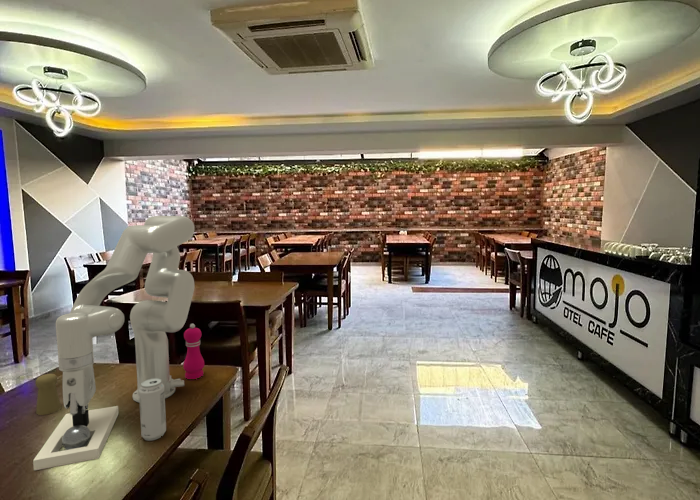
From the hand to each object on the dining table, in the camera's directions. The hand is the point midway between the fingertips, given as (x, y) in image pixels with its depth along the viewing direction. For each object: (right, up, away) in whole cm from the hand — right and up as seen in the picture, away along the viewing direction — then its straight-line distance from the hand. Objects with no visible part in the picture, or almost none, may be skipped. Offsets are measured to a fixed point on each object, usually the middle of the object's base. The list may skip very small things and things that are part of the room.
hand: (81, 426), depth 101 cm
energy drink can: (+19, -3, +1) cm, 19 cm away
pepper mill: (+15, 0, +38) cm, 41 cm away
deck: (0, -3, 0) cm, 3 cm away
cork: (-20, -2, +15) cm, 25 cm away
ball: (+2, -1, -5) cm, 5 cm away
